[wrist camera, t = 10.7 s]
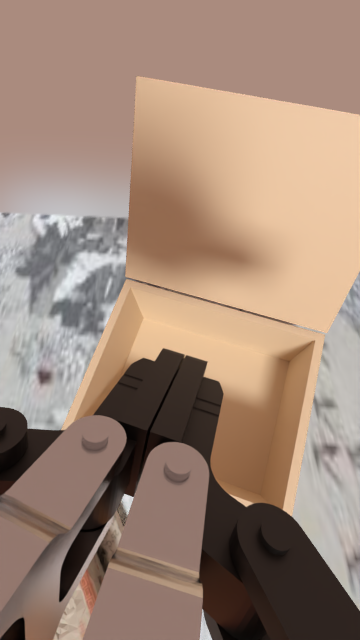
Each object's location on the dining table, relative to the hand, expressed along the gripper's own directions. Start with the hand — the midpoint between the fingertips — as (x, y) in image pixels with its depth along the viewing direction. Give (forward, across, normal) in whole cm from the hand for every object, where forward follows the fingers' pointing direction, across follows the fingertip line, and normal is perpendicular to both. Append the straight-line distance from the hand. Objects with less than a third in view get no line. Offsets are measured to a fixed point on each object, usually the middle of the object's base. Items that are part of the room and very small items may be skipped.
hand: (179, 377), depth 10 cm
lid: (+13, 0, -4) cm, 14 cm away
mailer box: (+15, 0, +13) cm, 20 cm away
